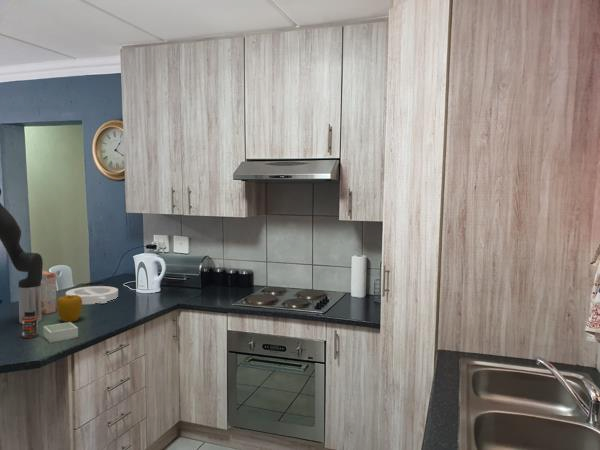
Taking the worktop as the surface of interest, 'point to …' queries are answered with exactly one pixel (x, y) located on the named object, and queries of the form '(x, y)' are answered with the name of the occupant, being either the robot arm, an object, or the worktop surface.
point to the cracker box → (48, 292)
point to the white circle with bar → (94, 294)
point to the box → (60, 332)
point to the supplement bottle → (29, 324)
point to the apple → (69, 307)
